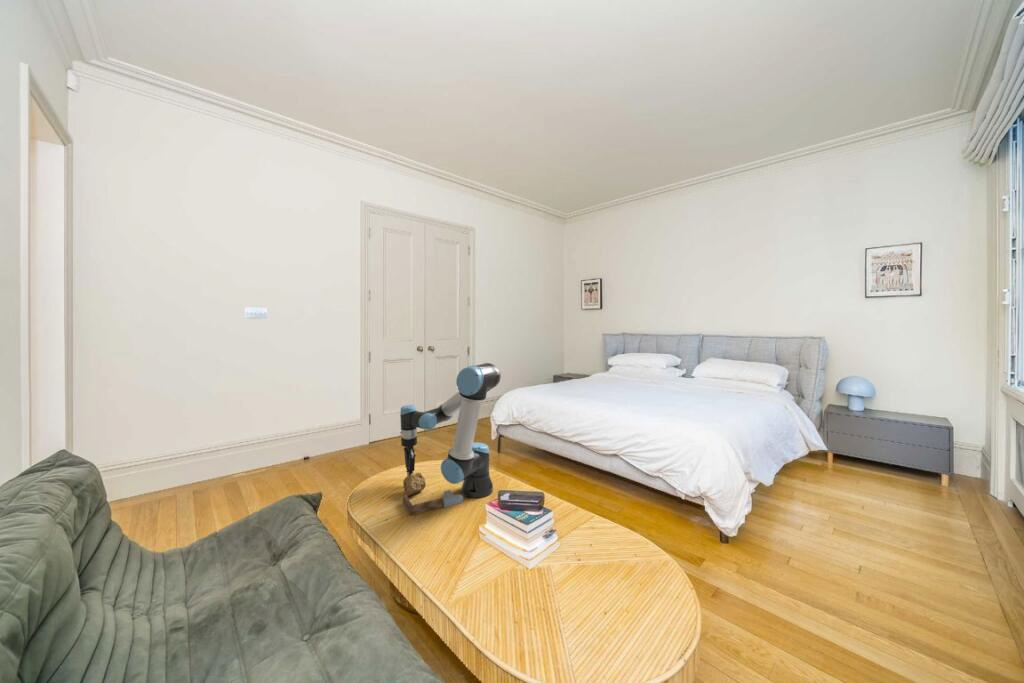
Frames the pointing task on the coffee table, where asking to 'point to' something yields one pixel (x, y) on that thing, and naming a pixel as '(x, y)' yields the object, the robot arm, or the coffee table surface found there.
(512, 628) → the coffee table surface
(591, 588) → the coffee table surface
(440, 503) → the brown l-shaped block
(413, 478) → the rock
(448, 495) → the t block
